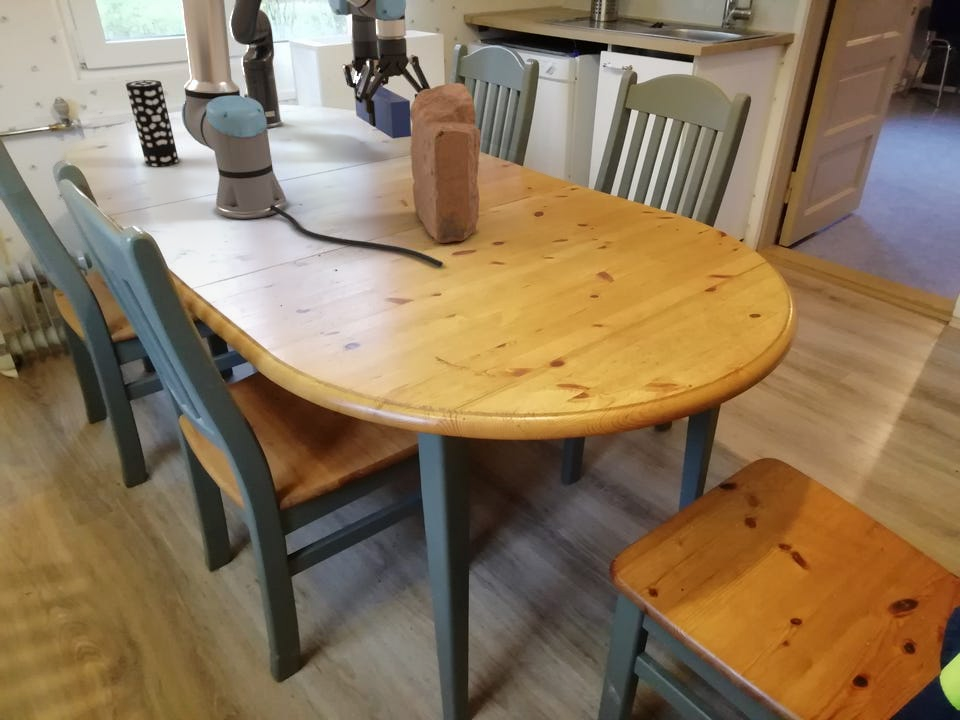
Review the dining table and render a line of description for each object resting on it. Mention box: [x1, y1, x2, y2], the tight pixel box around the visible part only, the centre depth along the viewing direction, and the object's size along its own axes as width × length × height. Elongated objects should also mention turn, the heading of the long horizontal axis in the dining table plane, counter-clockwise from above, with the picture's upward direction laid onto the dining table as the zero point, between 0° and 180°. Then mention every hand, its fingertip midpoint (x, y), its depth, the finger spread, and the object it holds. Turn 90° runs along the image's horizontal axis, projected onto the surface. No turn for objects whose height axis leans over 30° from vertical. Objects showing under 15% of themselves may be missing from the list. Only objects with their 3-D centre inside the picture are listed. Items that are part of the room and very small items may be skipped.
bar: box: [354, 80, 412, 139], centre depth 194 cm, size 28×5×9 cm, turn 29°
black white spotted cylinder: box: [125, 79, 179, 167], centre depth 181 cm, size 8×8×20 cm
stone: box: [410, 82, 482, 244], centre depth 143 cm, size 22×11×28 cm, turn 18°
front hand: (396, 122), depth 188 cm, fingers open, 13 cm apart
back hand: (369, 100), depth 201 cm, fingers closed on bar, 5 cm apart
